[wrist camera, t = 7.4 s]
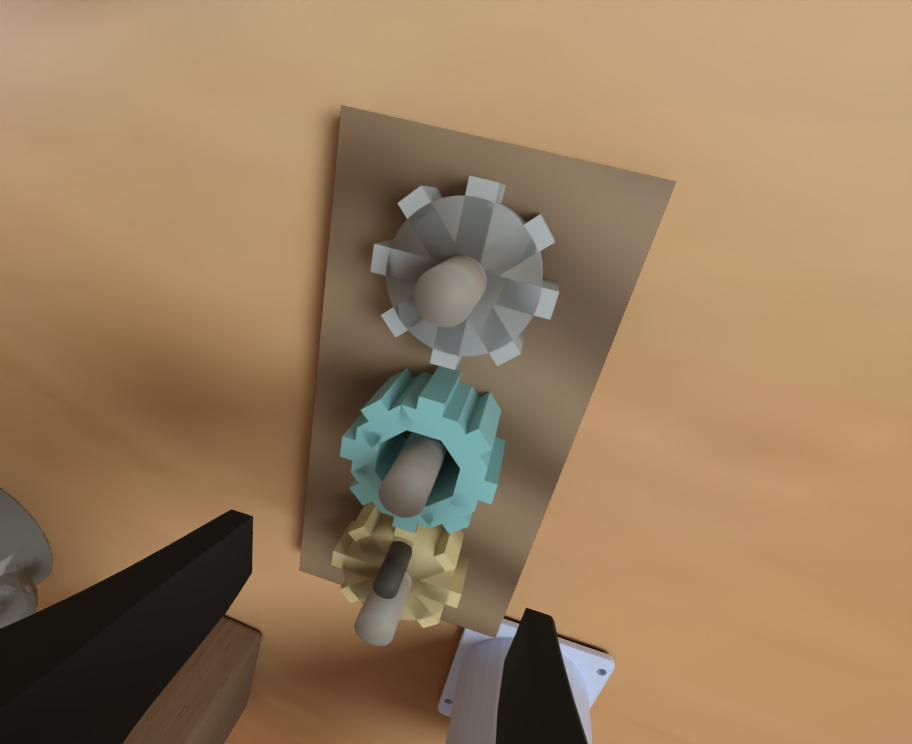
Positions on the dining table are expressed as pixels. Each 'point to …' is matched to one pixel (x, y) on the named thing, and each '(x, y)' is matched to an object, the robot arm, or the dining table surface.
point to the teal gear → (437, 416)
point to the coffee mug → (20, 561)
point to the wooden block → (204, 691)
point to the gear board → (517, 384)
